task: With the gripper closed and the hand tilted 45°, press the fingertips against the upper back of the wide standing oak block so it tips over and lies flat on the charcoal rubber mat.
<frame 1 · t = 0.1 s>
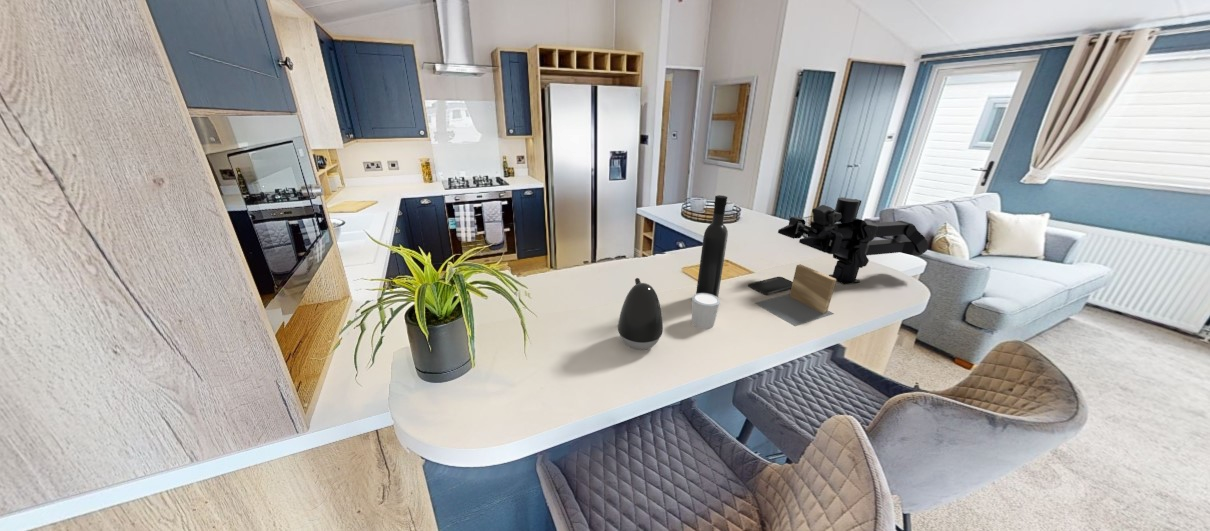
hand: (788, 236, 114), 17 cm above the table, tool horizontal, fingers open, 9 cm apart
oak block: (807, 304, 109), resting on charcoal mat
black egg shape: (638, 343, 90), on the table
wine bottle: (706, 301, 110), on the table
charcoal mat: (793, 309, 107), on the table
phone: (772, 288, 120), on the table
white short tapered cylinder: (702, 323, 99), on the table
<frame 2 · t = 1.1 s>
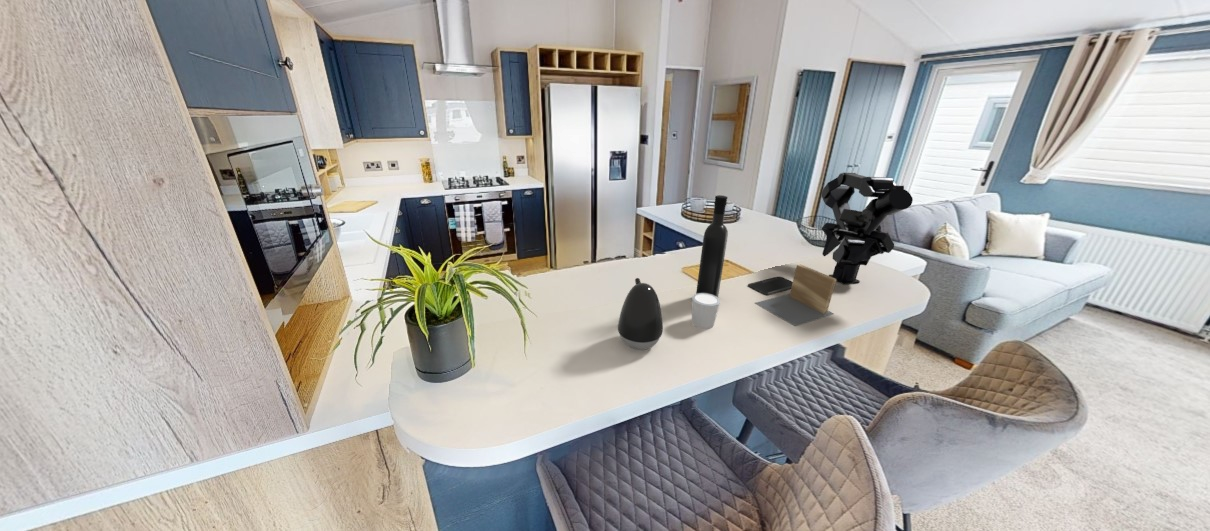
hand: (837, 259, 109), 12 cm above the table, tool tilted 45°, fingers open, 9 cm apart
nothing on the table moved.
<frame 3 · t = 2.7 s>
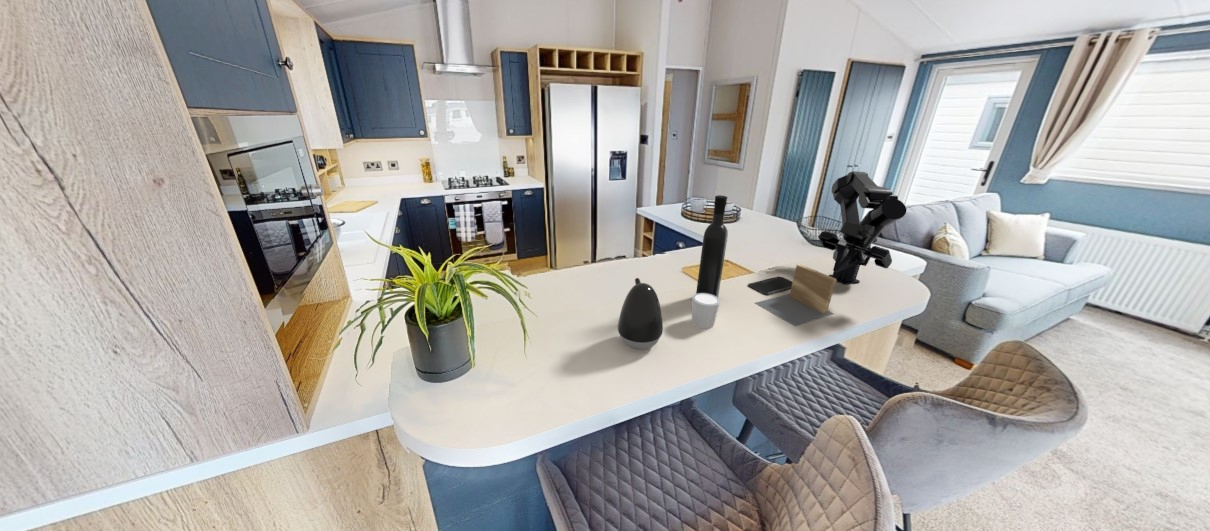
hand: (834, 271, 108), 9 cm above the table, tool tilted 45°, fingers closed
nothing on the table moved.
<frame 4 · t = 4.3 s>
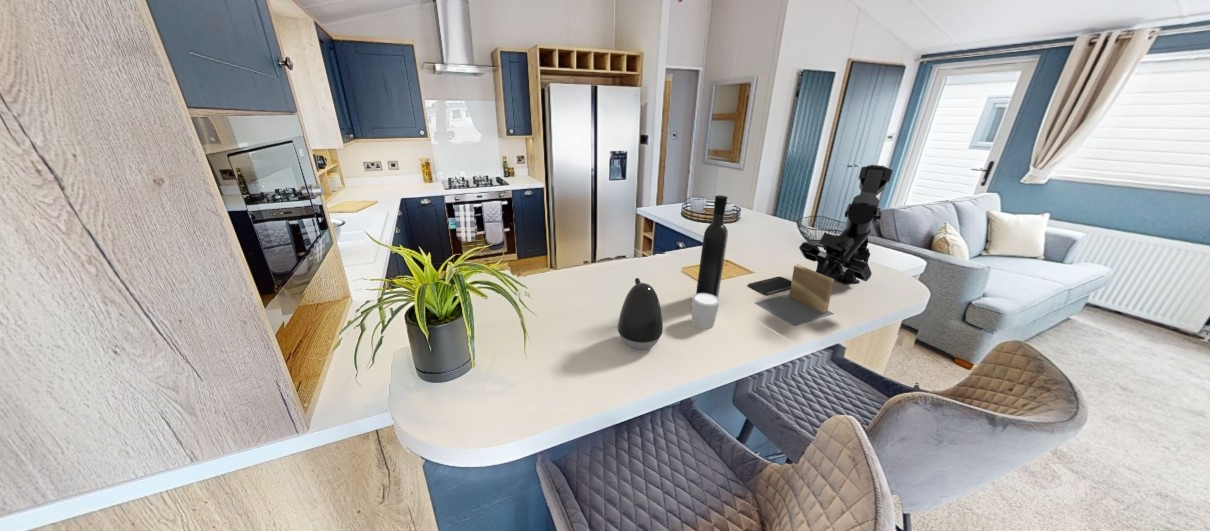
hand: (814, 283, 106), 7 cm above the table, tool tilted 45°, fingers closed
oak block: (807, 303, 109), resting on charcoal mat, tilted 6°
everything else where it was.
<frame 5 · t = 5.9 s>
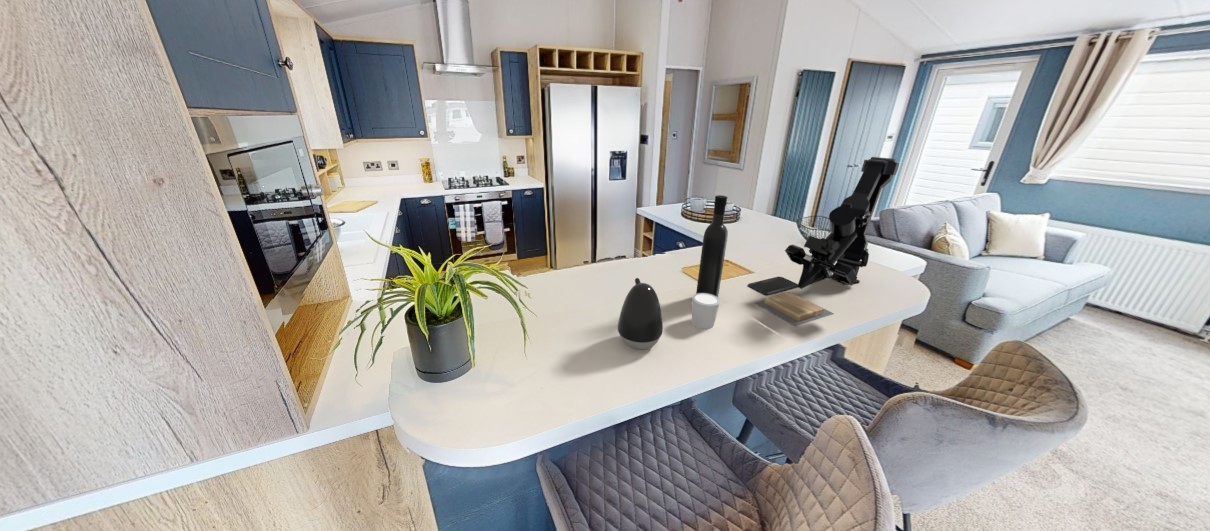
hand: (799, 287, 104), 7 cm above the table, tool tilted 45°, fingers closed
oak block: (805, 302, 108), point 1 cm above the table, tilted 90°, touching charcoal mat
everything else where it was.
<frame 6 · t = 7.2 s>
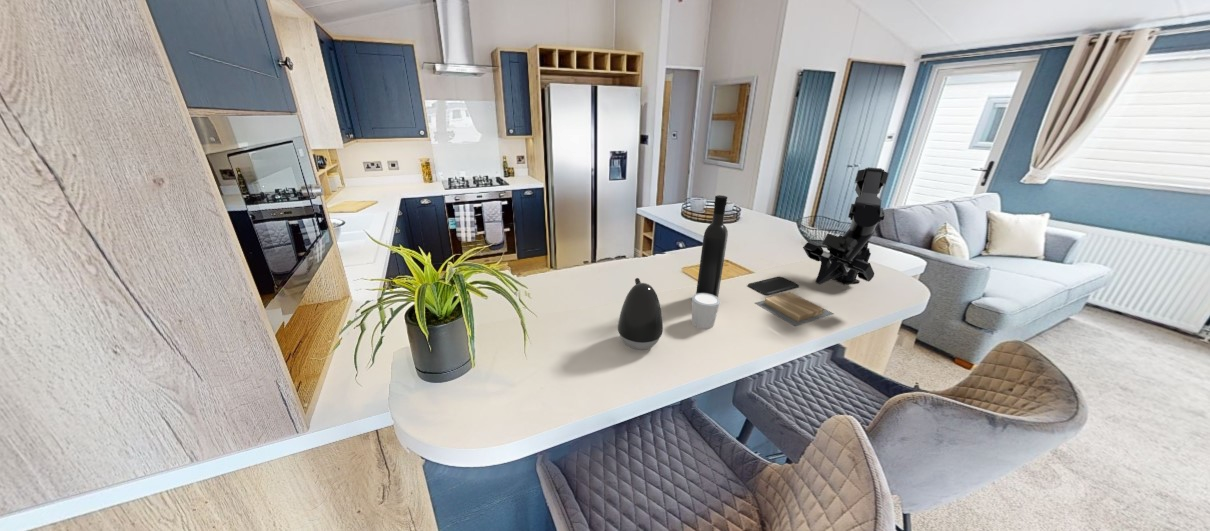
hand: (817, 283, 108), 6 cm above the table, tool tilted 45°, fingers closed
nothing on the table moved.
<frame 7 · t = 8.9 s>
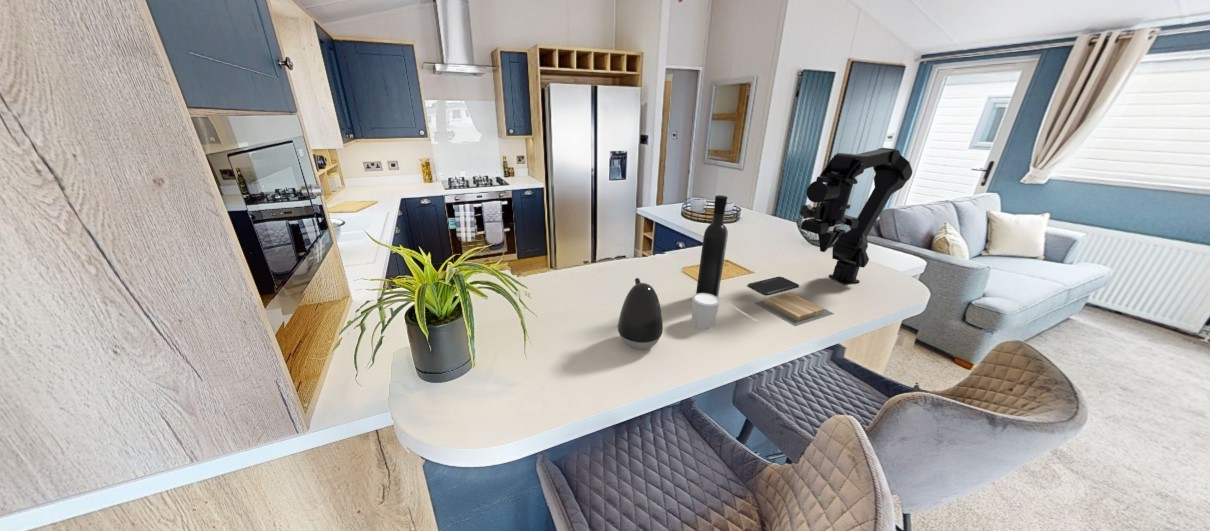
hand: (822, 251, 115), 12 cm above the table, tool pointing down, fingers closed
nothing on the table moved.
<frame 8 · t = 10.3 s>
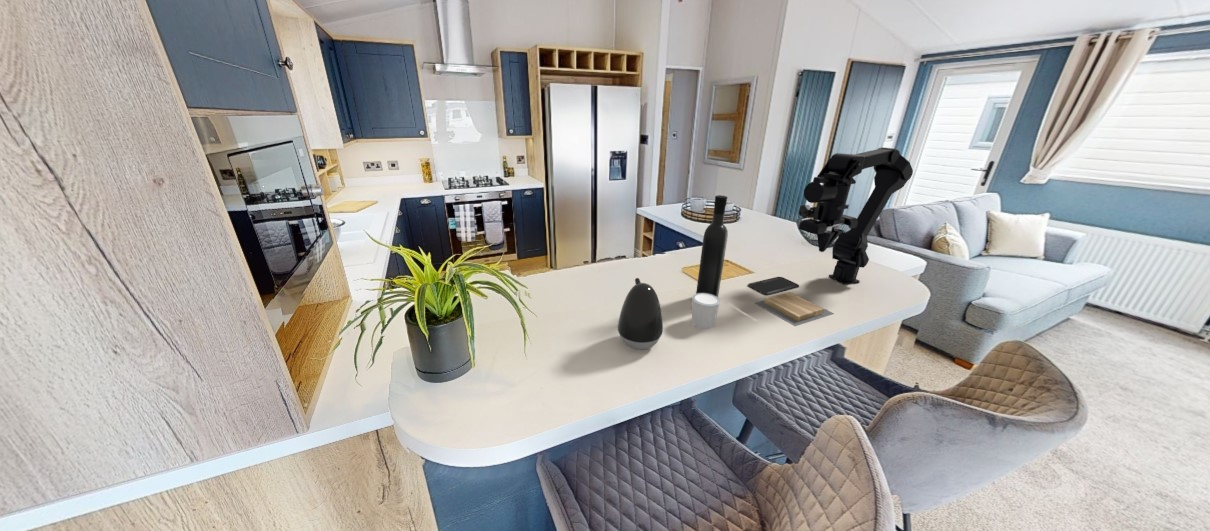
hand: (821, 251, 115), 12 cm above the table, tool pointing down, fingers closed
nothing on the table moved.
at the end: oak block tilted 90°; oak block inside the target area (5.2 cm from its centre), point 1.0 cm above the table; oak block touching charcoal mat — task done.
